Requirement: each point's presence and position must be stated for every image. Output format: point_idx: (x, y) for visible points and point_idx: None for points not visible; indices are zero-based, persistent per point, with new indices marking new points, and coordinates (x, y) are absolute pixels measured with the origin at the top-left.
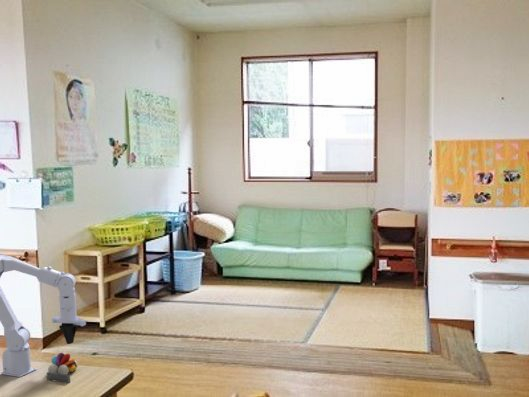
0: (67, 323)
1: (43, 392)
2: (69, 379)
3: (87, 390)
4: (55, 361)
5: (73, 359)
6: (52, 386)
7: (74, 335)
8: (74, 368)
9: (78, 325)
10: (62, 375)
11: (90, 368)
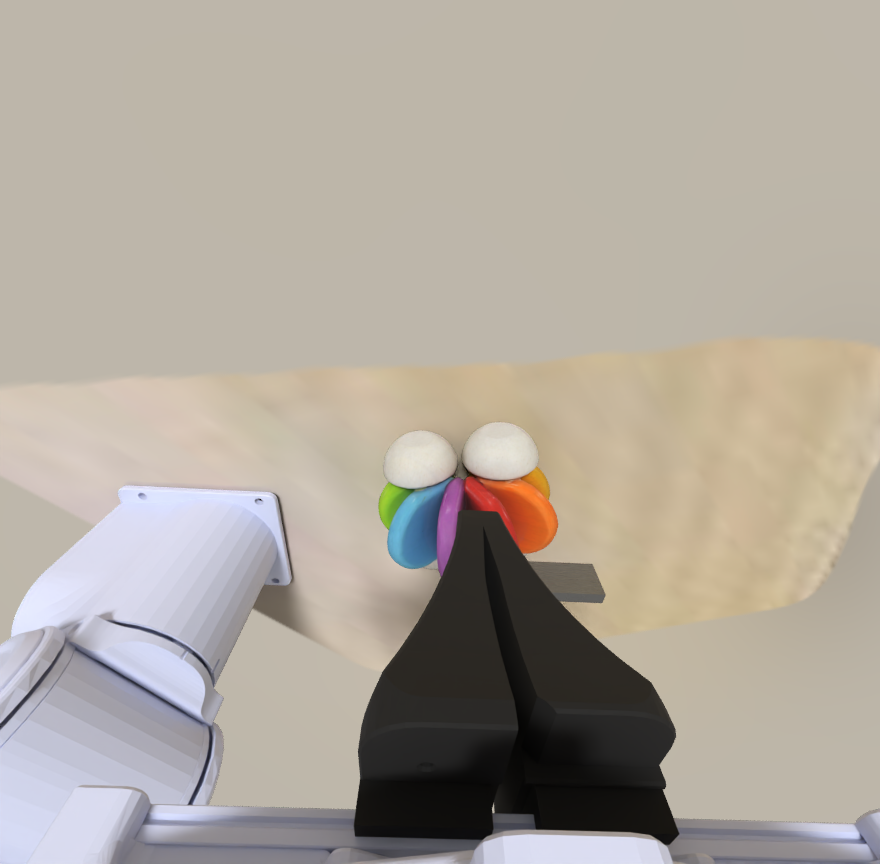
0: (481, 837)
1: None
2: (596, 581)
3: (722, 604)
4: (431, 553)
5: (555, 526)
6: None
7: (528, 567)
8: (549, 491)
9: (654, 697)
10: (561, 600)
11: (601, 384)
